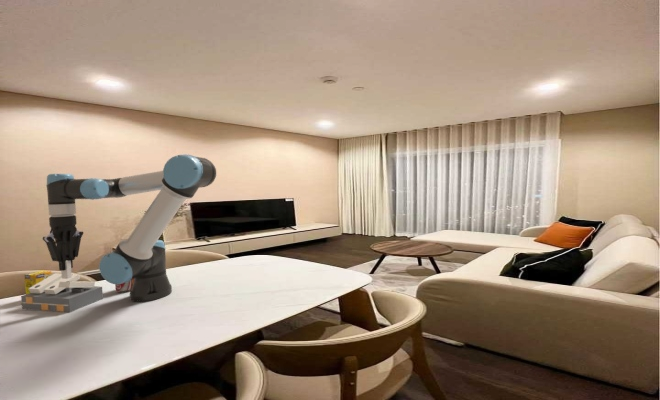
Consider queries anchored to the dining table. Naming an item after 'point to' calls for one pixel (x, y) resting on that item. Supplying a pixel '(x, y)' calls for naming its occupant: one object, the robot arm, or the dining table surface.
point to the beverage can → (124, 286)
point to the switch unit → (62, 299)
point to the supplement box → (35, 279)
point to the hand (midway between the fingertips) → (66, 277)
